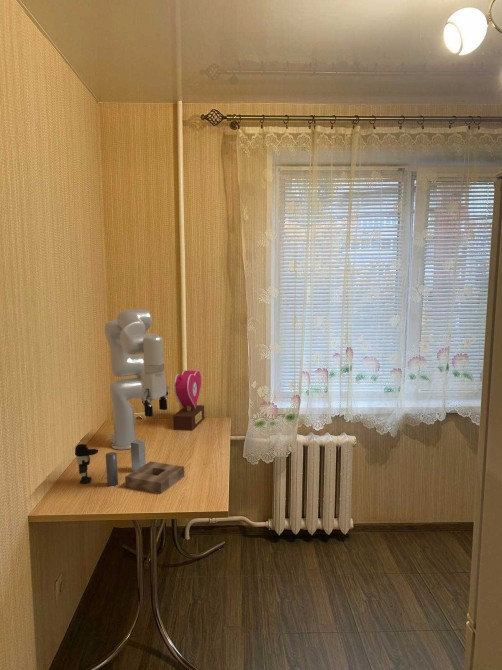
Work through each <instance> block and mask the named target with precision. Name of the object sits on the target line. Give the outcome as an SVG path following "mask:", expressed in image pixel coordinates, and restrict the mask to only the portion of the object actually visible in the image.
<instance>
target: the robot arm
mask: <svg viewBox="0 0 502 670" xmlns="http://www.w3.org/2000/svg"><path fill="white" fill-rule="evenodd" d="M116 317H117V318H116V319H114V320H109V321H107V322H106V323H105V325H104V335H105V338H106V340H107V344H108V346H109V353H110V363H111V364H110V365H111V373H112V374H113V376H115V377H120V378H121V377H122V379H117V380H114V381H112V382H111V383H110V386H109V394H110V397H111V404H112V415H113V416H112V417H113V418H112V419H113V434H110V435H109V437H108V440H109V441H112V443H111V448H112V449H114V450H119V451H122V450H123V451H124V450H131V442H133V441H135V440H138V439H137V438H136V423H135V420H136V419H135V408H134V406H133V404H132V403H131V402H129V400H131V399H137V398H139V399H140V400H141V403H142V404H143V407H144V417H147V418H151V417H153V416H154V410H153V409H154V408H153V401H155V400H158V403H159V404H158V407H159V410H161V411H162V410H163V411H167V410H168V398H169V397H168V395H169V389H170V387H169V386H168V385H167V379H166V373H165V357H164V352H165V350H164V338H163V337H162V336H161V335H160V336H159V335H158V334H157V333H147V332H148V330H149V329H150V327H151V326H152V323H153V318H152V314H151V312H150V311H149V310H147V309H145V308H140V309H139V308H138V309H137V308H136V309H124V310H121V311H120V312H119V313H118V314H117V316H116ZM129 376H136V377H130V378H123V377H129Z"/></svg>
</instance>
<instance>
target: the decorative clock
mask: <svg viewBox="0 0 502 670" xmlns="http://www.w3.org/2000/svg"><path fill="white" fill-rule="evenodd" d="M201 387H202V376H201V372H200V370H198V369H197V370H187V369H185V370H183V371H182V373H181V374H180V373H177V374H176V375H175V378H174V385H173V391H174V394H175V398H176V399H177V401H178V403H179V404H180V406H181V409H180V410H179V411H177V412H175V414H173V415H172V417H173V418H172V423H173V429H172V430H173V431H174V430H175V431H189V432H190V431H194V429H195V428H197V427H198V426H199V425H200V424H201V423H202V422H203V421H204V420H205V419H206V418H205V405H204V404H202V405H201V404H199V405H198V402H199V401H198V400H199V396H200V392H201Z"/></svg>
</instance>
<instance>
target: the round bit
mask: <svg viewBox="0 0 502 670" xmlns="http://www.w3.org/2000/svg"><path fill="white" fill-rule="evenodd" d="M117 455H118V454H117V452H114V451H112V452H111V451H110V452H108V453H106V454H105V464H106V466H105V467H106V468H105V470H106V480H107V481H106V483H107V485H108V486H107V487H109V486H114V487H117V486H118V485H119V475H118V473H119V471H118V456H117ZM116 485H117V486H116Z"/></svg>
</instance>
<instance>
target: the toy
mask: <svg viewBox="0 0 502 670" xmlns="http://www.w3.org/2000/svg"><path fill="white" fill-rule="evenodd" d="M74 449H75V450H74V455H75V456H76V461H77V462H76V463H77V465H78V474H79V476H80V477H81V478H80V479H79V483H80V484H89V483H91V481H92V476H88V470H89V467H88V466H89V465H90V463H91V456H94V455H96V454H98V453H99V449H97V448H89V446H88V445H87V444H86V443H80V444H77V445H76V446H75V448H74Z"/></svg>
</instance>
